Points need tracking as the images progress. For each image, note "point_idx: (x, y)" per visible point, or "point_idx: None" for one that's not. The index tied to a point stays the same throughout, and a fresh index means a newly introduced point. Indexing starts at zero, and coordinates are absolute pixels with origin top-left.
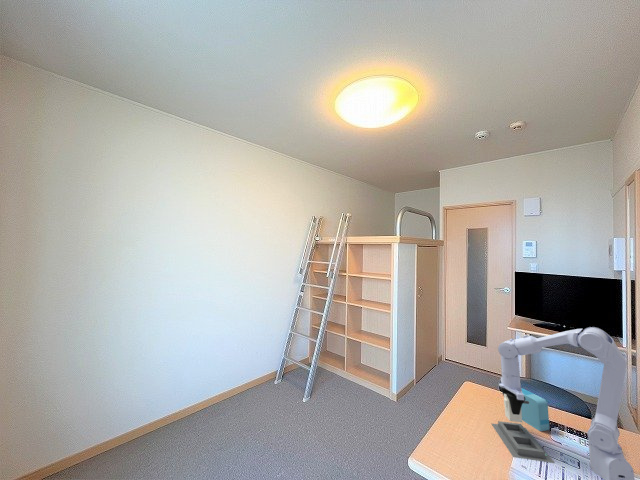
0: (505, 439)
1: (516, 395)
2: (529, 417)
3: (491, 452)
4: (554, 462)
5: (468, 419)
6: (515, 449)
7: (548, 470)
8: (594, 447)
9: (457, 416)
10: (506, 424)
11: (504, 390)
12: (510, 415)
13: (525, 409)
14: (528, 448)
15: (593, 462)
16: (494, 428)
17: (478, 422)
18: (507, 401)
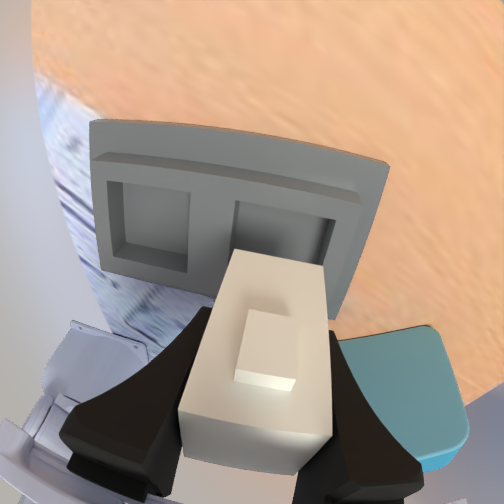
0: (221, 154)
1: (10, 456)
2: (354, 374)
3: (133, 38)
4: (104, 269)
5: (450, 66)
6: (122, 156)
7: (80, 225)
8: (65, 394)
9: (473, 24)
10: (329, 238)
11: (334, 477)
12: (223, 280)
13: (376, 395)
14: (103, 214)
15: (94, 359)
16: (334, 152)
17: (422, 107)
18: (228, 373)
